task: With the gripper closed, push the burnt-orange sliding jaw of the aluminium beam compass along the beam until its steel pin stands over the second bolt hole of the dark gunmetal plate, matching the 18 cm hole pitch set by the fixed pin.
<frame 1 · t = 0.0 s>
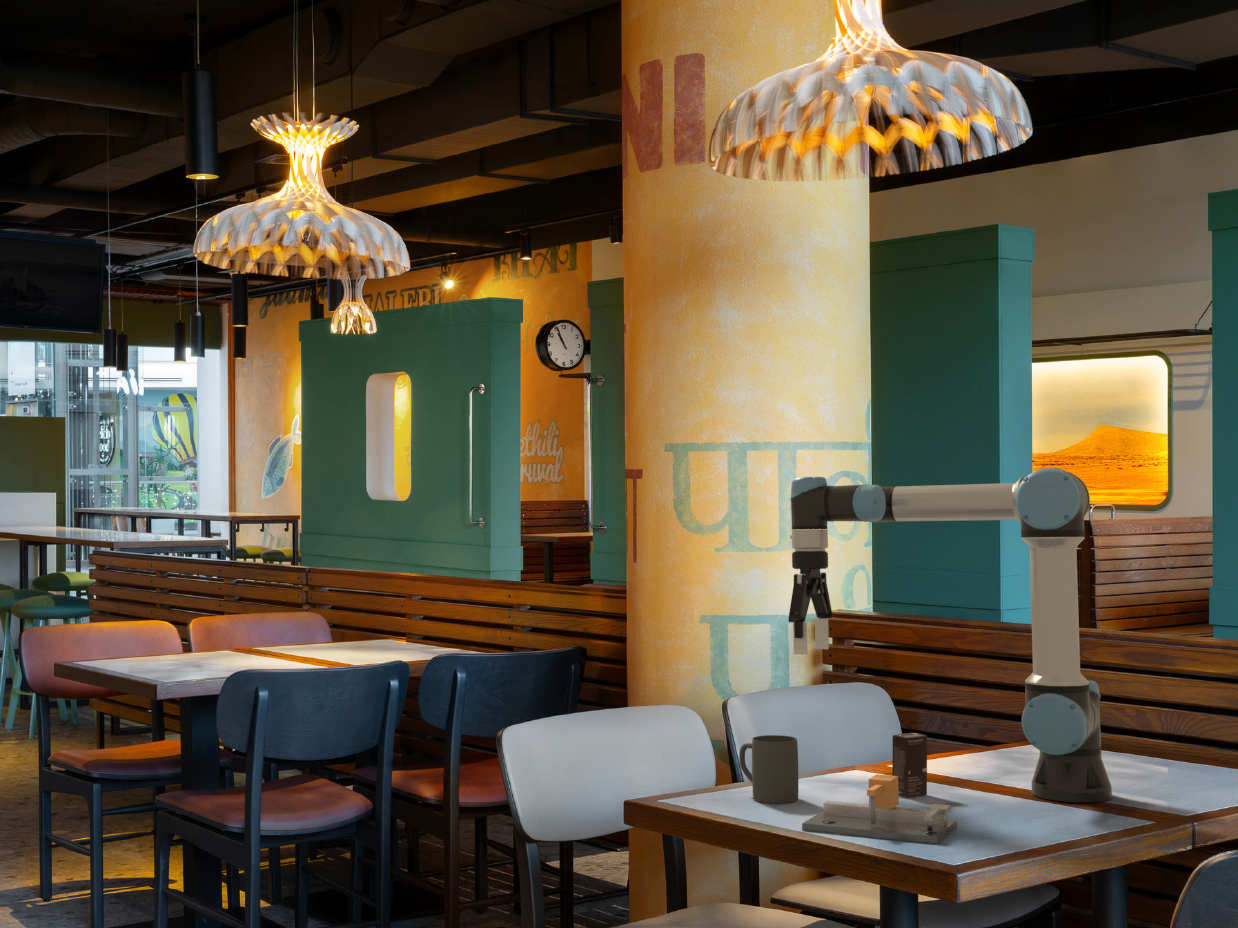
hand: (811, 651, 267), 28 cm above the table, fingers open, 13 cm apart
beam: (884, 825, 229), resting on plate
mug: (766, 798, 255), on the table
box: (910, 795, 256), on the table
jaw: (879, 799, 227), point 5 cm above the table, slide at 2.0 cm
plate: (879, 828, 227), on the table
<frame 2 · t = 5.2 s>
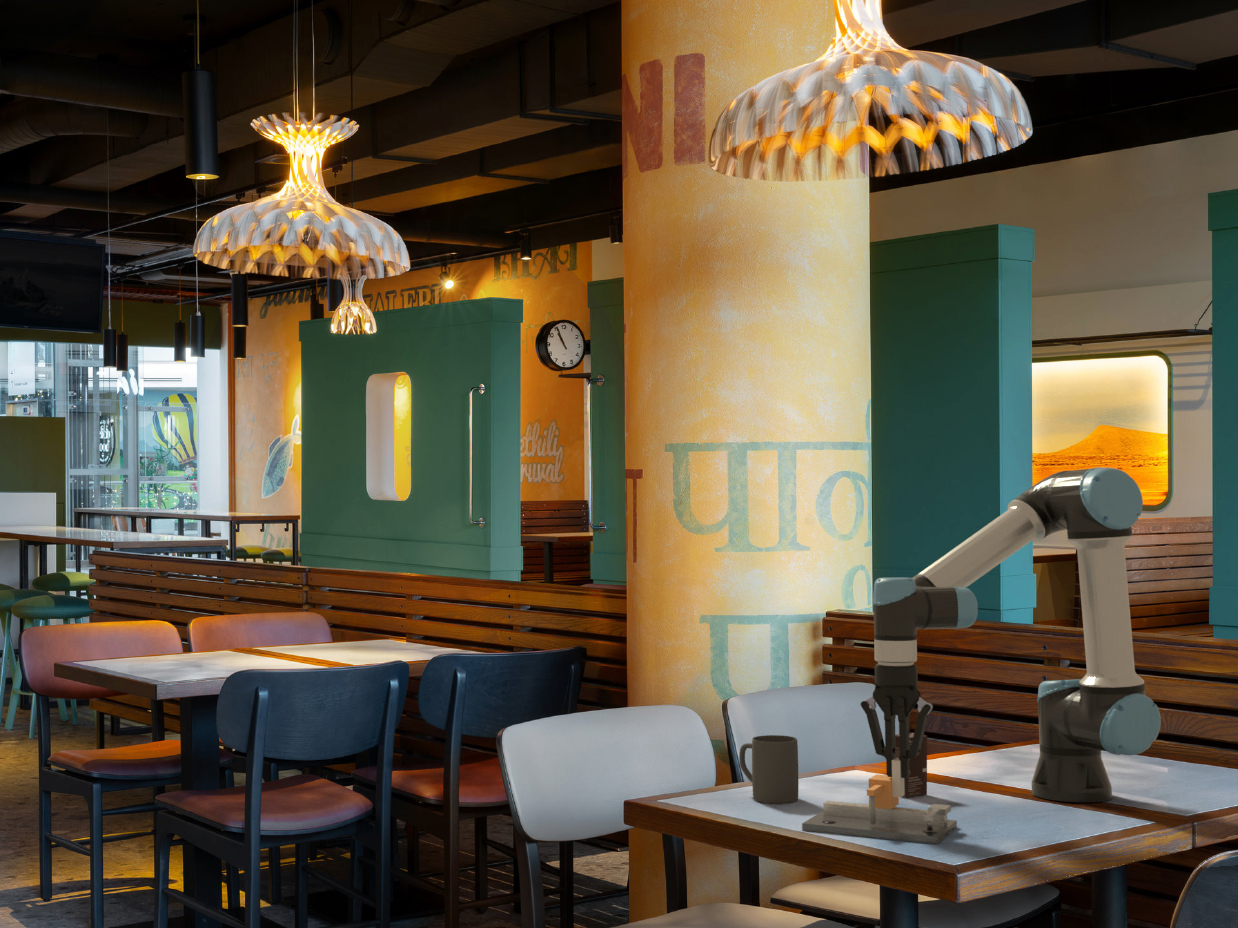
hand: (898, 795, 228), 6 cm above the table, fingers closed
jaw: (879, 799, 227), point 5 cm above the table, slide at 2.0 cm, touching gripper
everything else where it was.
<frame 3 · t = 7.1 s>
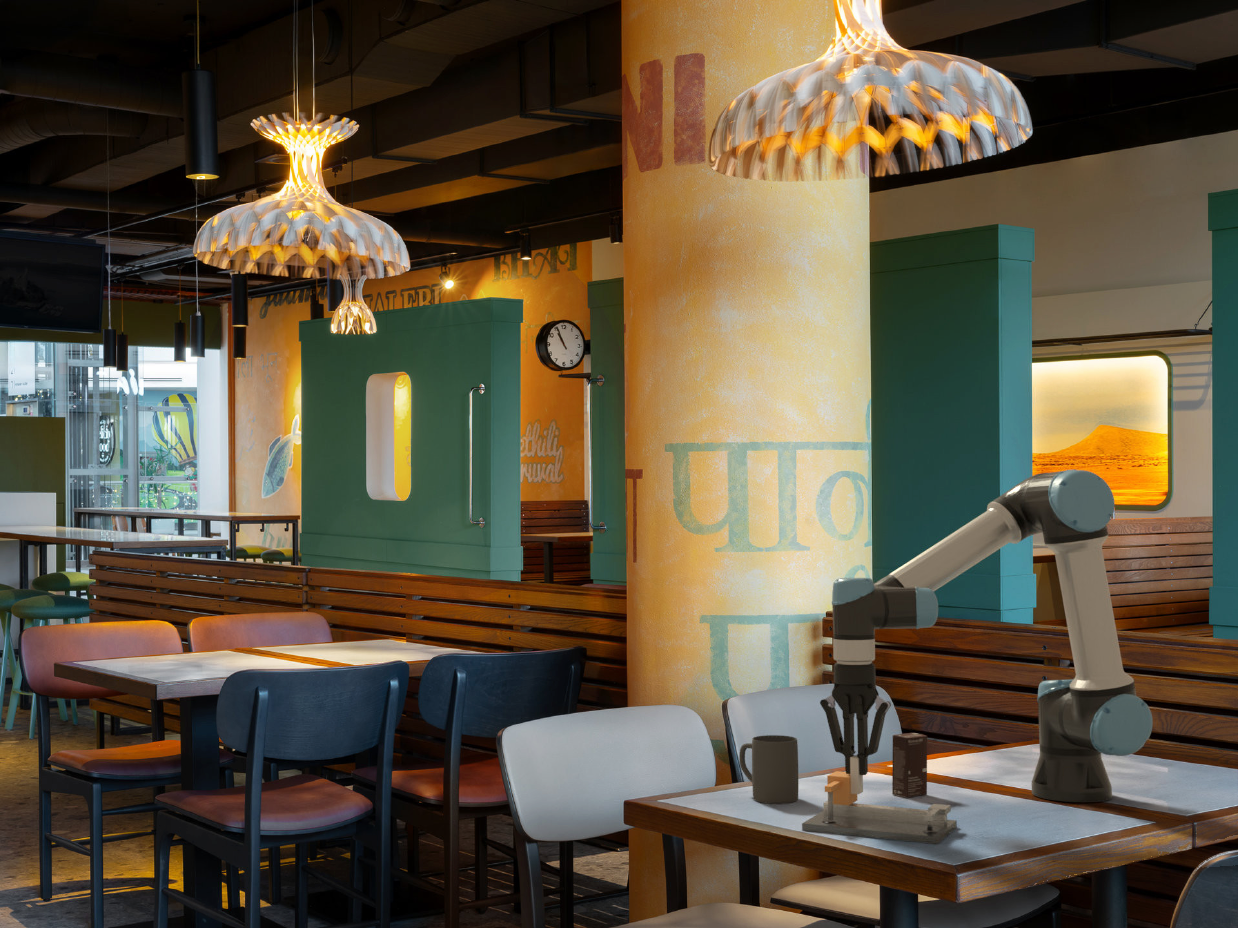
hand: (856, 792, 232), 5 cm above the table, fingers closed
jaw: (837, 795, 231), point 5 cm above the table, slide at 9.7 cm, touching gripper
everything else where it was.
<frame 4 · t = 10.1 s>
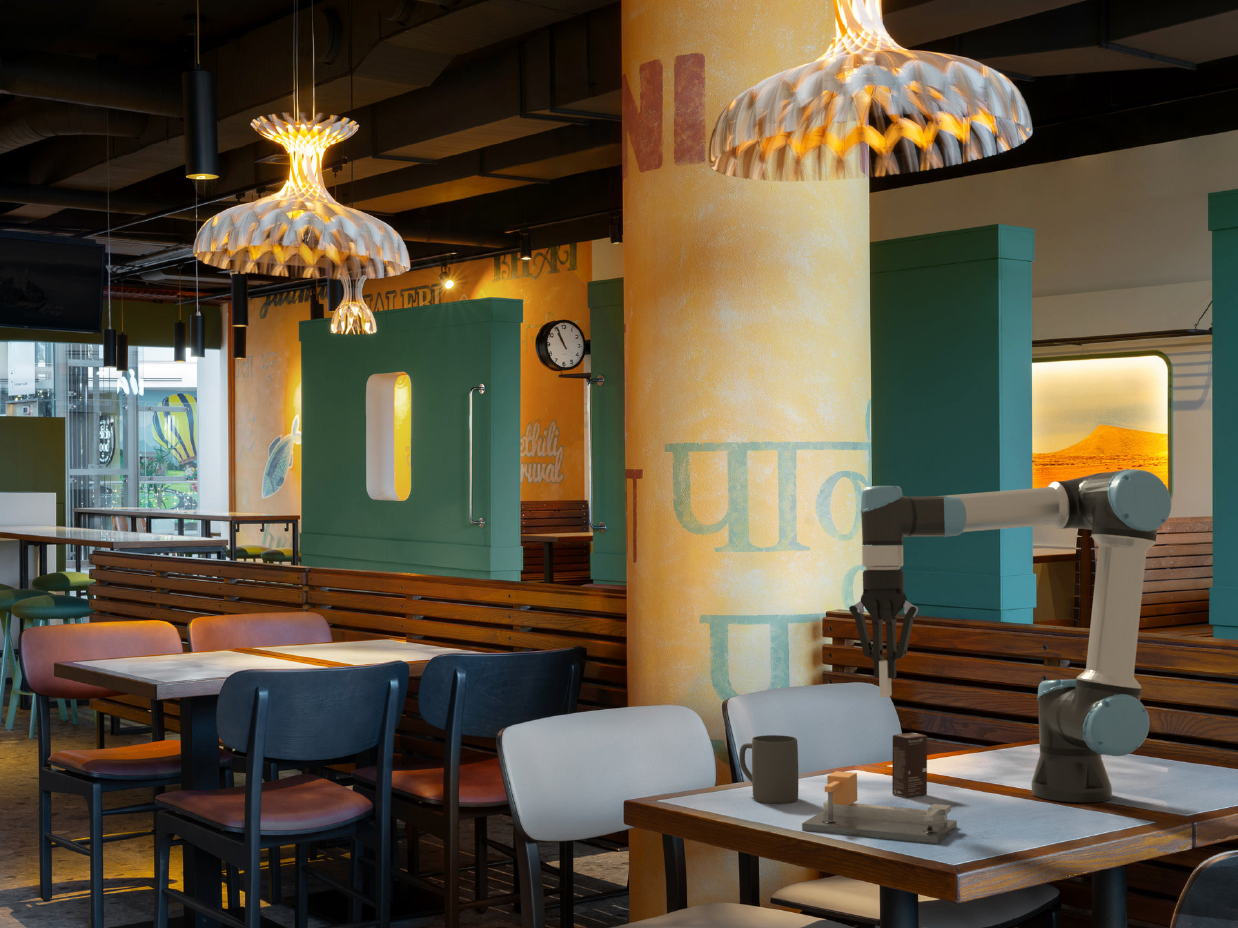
hand: (885, 695, 236), 22 cm above the table, fingers closed
jaw: (837, 795, 231), point 5 cm above the table, slide at 9.7 cm
everything else where it was.
at the end: jaw slide at 9.7 cm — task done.
